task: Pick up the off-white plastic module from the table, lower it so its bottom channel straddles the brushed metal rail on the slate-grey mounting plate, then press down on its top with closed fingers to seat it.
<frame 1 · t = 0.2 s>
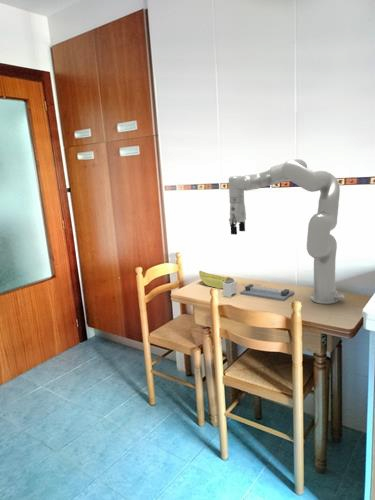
hand: (238, 232, 205), 31 cm above the table, tool pointing down, fingers open, 9 cm apart
yellow-green curved piece: (216, 284, 223), on the table
mounting plate: (266, 294, 198), on the table
din rail: (266, 289, 198), on the mounting plate, point 2 cm above the table
module: (230, 295, 201), on the table
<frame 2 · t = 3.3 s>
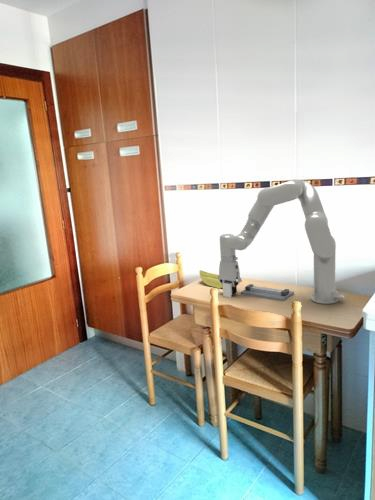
hand: (230, 292, 201), 1 cm above the table, tool pointing down, fingers closed on module, 4 cm apart
module: (230, 295, 201), on the table, touching gripper
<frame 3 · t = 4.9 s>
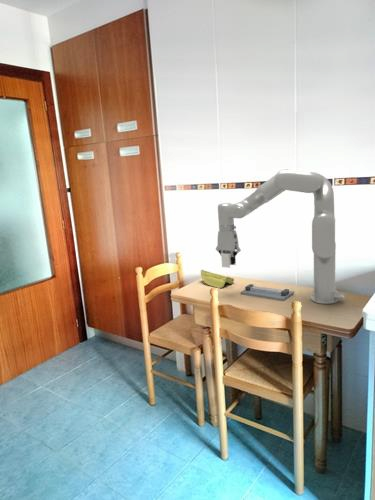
hand: (228, 263, 198), 17 cm above the table, tool pointing down, fingers closed on module, 4 cm apart
module: (228, 265, 198), point 16 cm above the table, touching gripper
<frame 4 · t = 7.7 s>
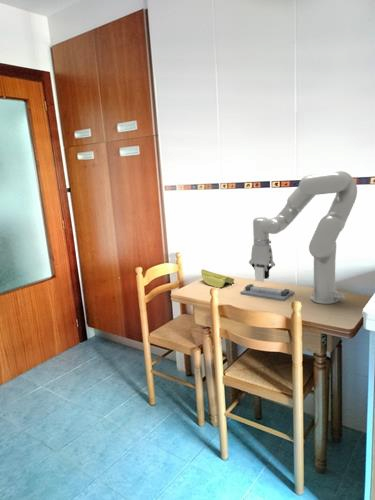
hand: (262, 277, 198), 9 cm above the table, tool pointing down, fingers closed on module, 4 cm apart
module: (262, 279, 198), point 7 cm above the table, touching gripper
when the fingers open (4 cm above the table, at t = 9.0 s): module stays where it is, resting on din rail.
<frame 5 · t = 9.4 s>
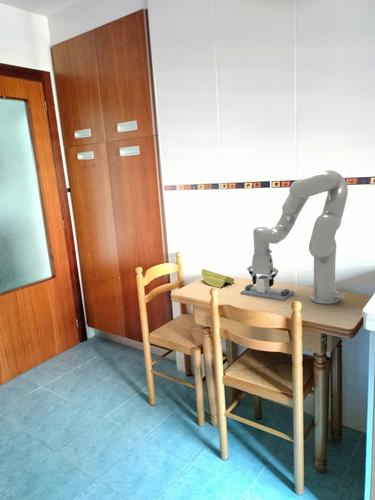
hand: (263, 284, 199), 5 cm above the table, tool pointing down, fingers open, 8 cm apart
module: (263, 290, 199), point 1 cm above the table, touching din rail
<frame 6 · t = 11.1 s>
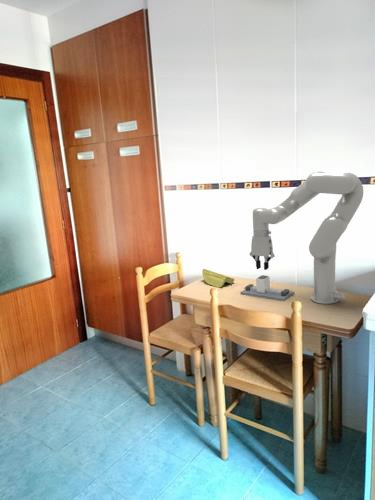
hand: (262, 268, 197), 13 cm above the table, tool pointing down, fingers open, 3 cm apart
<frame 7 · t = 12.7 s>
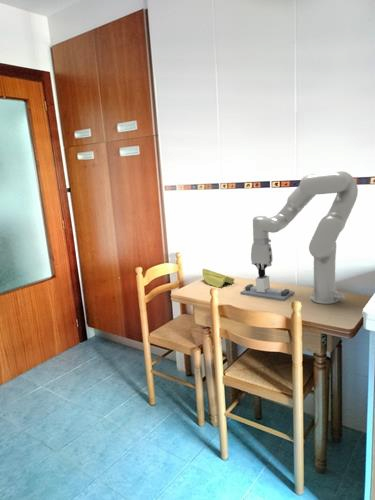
hand: (261, 276, 198), 9 cm above the table, tool pointing down, fingers closed
module: (263, 290, 199), point 2 cm above the table, touching din rail, gripper
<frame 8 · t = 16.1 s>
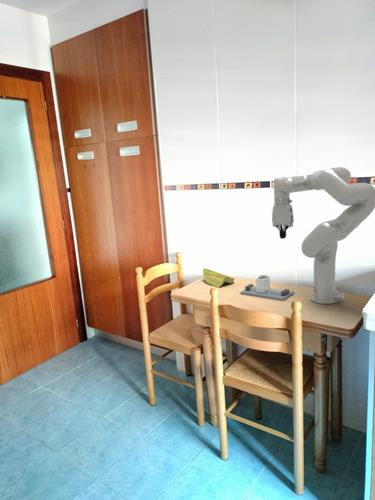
hand: (282, 238, 199), 27 cm above the table, tool pointing down, fingers closed
module: (263, 290, 199), point 1 cm above the table, touching din rail
at the end: module inside the target area on the din rail (1.6 cm from its centre), point 1.5 cm above the din rail's base; module tilted 0°; the gripper is holding nothing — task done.
